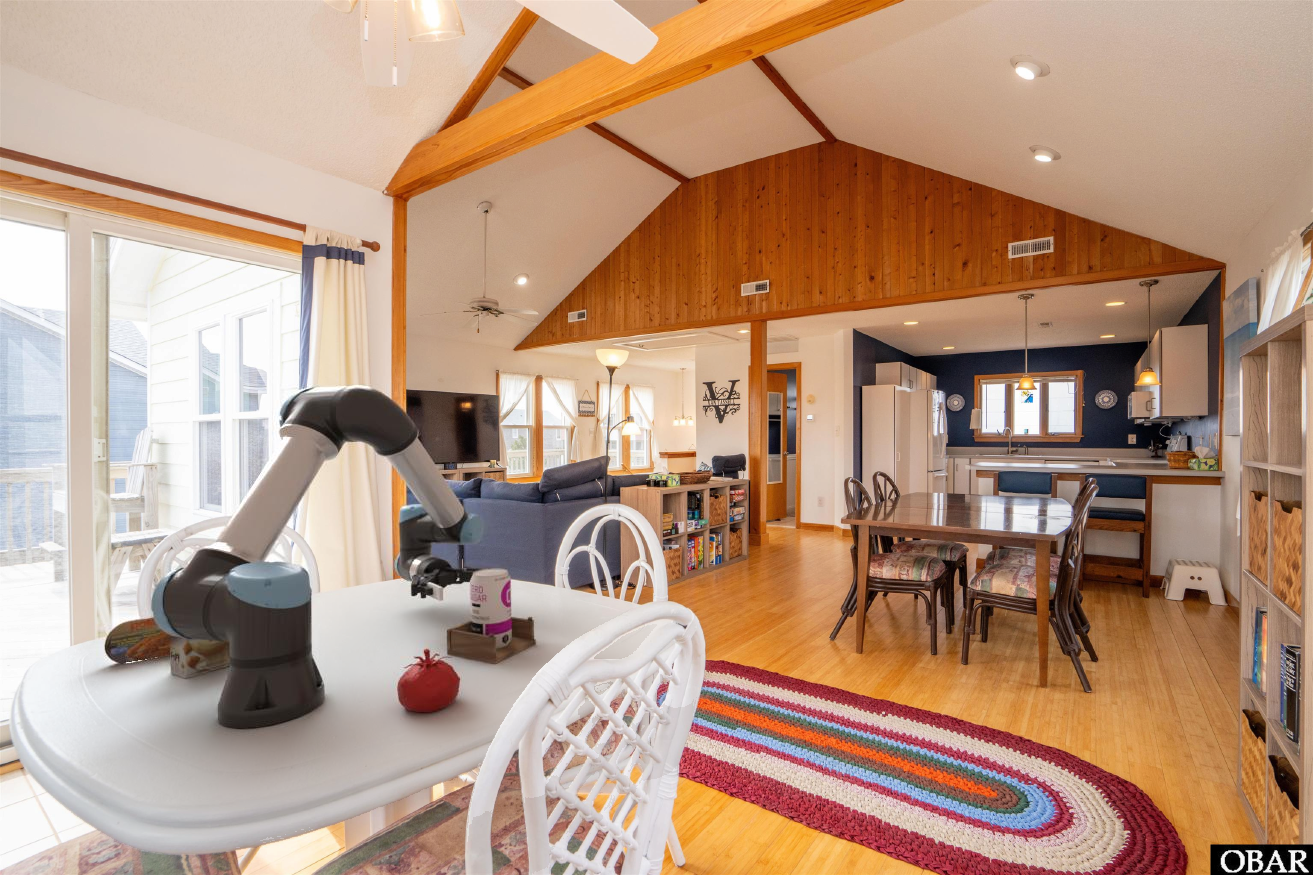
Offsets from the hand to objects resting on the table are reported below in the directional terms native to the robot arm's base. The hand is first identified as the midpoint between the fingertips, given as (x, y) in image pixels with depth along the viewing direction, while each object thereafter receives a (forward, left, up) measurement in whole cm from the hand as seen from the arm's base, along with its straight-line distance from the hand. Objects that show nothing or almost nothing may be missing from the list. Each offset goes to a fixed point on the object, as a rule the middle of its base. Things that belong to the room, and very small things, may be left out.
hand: (471, 588), depth 138 cm
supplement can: (-3, -8, -10) cm, 14 cm away
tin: (-36, +53, -11) cm, 65 cm away
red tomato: (-28, -17, -11) cm, 35 cm away
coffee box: (-35, +36, -11) cm, 51 cm away
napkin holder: (-3, -8, -11) cm, 14 cm away
